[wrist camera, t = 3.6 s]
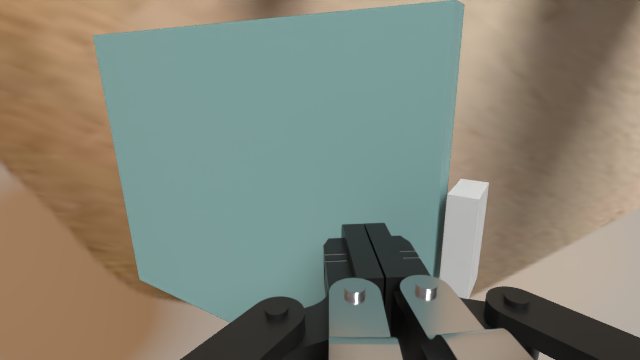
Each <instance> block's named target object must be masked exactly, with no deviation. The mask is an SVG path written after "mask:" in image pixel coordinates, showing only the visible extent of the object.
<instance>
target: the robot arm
mask: <svg viewBox="0 0 640 360" xmlns="http://www.w3.org/2000/svg"><path fill="white" fill-rule="evenodd" d="M323 256H324V288H325V298H324V299H323V300H322V301H321V302H319V303H317V304H315V305H312V306H309V307H306V308H304V307H303V305H302V304H301V303H300V302H299V301H297V300H295V299H293V298H290V297H284V296H277V297H271V298H267V299H264V300H262V301H260V302H258V303H257V304H255V305H254V306H253V307H251V308H250V309H249V310H247V311H246V312H245V313H243V314H242V315H240V316H239V317H238V318H236V319H235V320H234V321H232V322H231V323H230V324H228V325H227V326H225V327H224V328H223V329H221V330H220V331H219V332H217V333H216V334H214V335H213V336H212V337H211V338H209V339H208V340H206V341H205V342H204V343H203V344H201V345H199V346H198V347H197V348H195V349H194V350H193V351H191V352H190V353H189V354H187V355H186V356H184V357H183V358H182V359H180V360H538V356H539V352H541V353H543V354H545V355H547V356H549V357H551V358H553V359H555V360H640V338H639V337H637V336H634V335H632V334H629V333H627V332H624V331H622V330H620V329H617V328H615V327H612V326H610V325H607V324H605V323H602V322H600V321H598V320H595V319H593V318H590V317H588V316H585V315H583V314H580V313H578V312H576V311H573V310H571V309H568V308H566V307H564V306H561V305H559V304H556V303H554V302H551V301H549V300H546V299H544V298H542V297H539V296H537V295H534V294H532V293H529V292H527V291H524V290H521V289H518V288H513V287H495V288H493V289H490V290H489V291H488V293H487V294H486V300H485V302H484V301H478V300H471V299H465V298H460V297H458V295H457V294H456V293H455V292H454V290H453V289H452V288H451V287H450V286H449V285H448V284H447V283H446V282H444V281H443V280H441V279H439V278H436V277H433V276H431V275H430V274H429V272H428V270H427V269H426V267H425V265H424V264H423V262H422V261H421V259H420V258H419V256H418V254H417V252H415V249H414V248H413V246H412V244H411V243H410V242H409V241H408V240H406V239H405V238H403V237H402V236H400V235H399V236H391V234H390V232H389V230H388V228H387V226H386V225H385V223H364V224H342V228H341V238H328V240H327V241H326V243H325V244H324V245H323Z"/></svg>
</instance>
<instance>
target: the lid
mask: <svg viewBox="0 0 640 360" xmlns="http://www.w3.org/2000/svg"><path fill="white" fill-rule="evenodd" d="M463 15H464V4H462V3H461V2H459V1H457V0H450V1H440V2H429V3H419V4H409V5H399V6H388V7H378V8H368V9H358V10H348V11H337V12H327V13H317V14H307V15H297V16H286V17H276V18H266V19H256V20H246V21H235V22H225V23H215V24H205V25H195V26H184V27H174V28H164V29H154V30H144V31H133V32H123V33H113V34H103V35H93V38H94V44H95V49H96V54H97V59H98V65H99V70H100V75H101V80H102V85H103V91H104V96H105V101H106V106H107V112H108V117H109V122H110V127H111V132H112V138H113V143H114V148H115V153H116V159H117V164H118V169H119V174H120V179H121V185H122V190H123V195H124V200H125V206H126V211H127V216H128V221H129V227H130V232H131V237H132V242H133V247H134V253H135V258H136V263H137V268H138V274H139V279H140V280H141V281H144V282H146V283H148V284H150V285H152V286H154V287H156V288H158V289H160V290H163V291H165V292H167V293H169V294H171V295H173V296H175V297H177V298H179V299H181V300H184V301H186V302H188V303H190V304H192V305H194V306H196V307H198V308H200V309H203V310H205V311H207V312H209V313H211V314H213V315H215V316H217V317H220V318H221V319H224V320H226V321H228V322H230V323H231V322H232V321H234V320H235V319H236V318H238V317H239V316H240V315H242V314H243V313H245V312H246V311H247V310H249V309H250V308H251V307H253V306H254V305H255V304H257V303H258V302H260V301H262V300H264V299H267V298H271V297H277V296H284V297H290V298H293V299H295V300H297V301H299V302H300V303H301V304H302V305H303V307H304V308H306V307H309V306H312V305H315V304H317V303H319V302H321V301H322V300H323V299H324V298H325V288H324V256H323V245H324V244H325V243H326V241H327V240H328V238H341V228H342V224H364V223H385V225H386V226H387V228H388V230H389V232H390V234H391V236H399V235H400V236H402V237H403V238H405V239H406V240H408V241H409V242H410V243H411V244H412V246H413V248H414V249H415V252H417V254H418V256H419V258H420V259H421V261H422V262H423V264H424V265H425V267H426V269H427V270H428V272H429V274H430V275H431V276H433V277H436V278H439V277H440V279H441V280H443V281H444V282H446V283H447V284H448V285H449V286H450V287H451V288H452V289H453V290H454V292H455V293H456V294H457V295H458V297H460V298H465V299H469V297H470V294H471V292H472V289H473V287H474V284H475V282H476V279H477V275H478V267H479V259H480V251H481V243H482V235H483V228H484V220H485V212H486V204H487V196H488V188H489V183H488V182H481V181H474V180H467V179H460V180H459V181H458V183H457V184H456V185H455V186H454V187H453V188H452V190H451V191H450V192H449V193H448V195H447V190H448V179H449V168H450V157H451V146H452V135H453V124H454V113H455V102H456V92H457V81H458V70H459V59H460V48H461V37H462V26H463ZM446 200H447V205H446ZM445 211H446V216H445ZM444 222H445V227H444ZM443 233H444V238H443ZM442 244H443V249H442ZM441 255H442V260H441ZM440 266H441V270H440Z"/></svg>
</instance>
